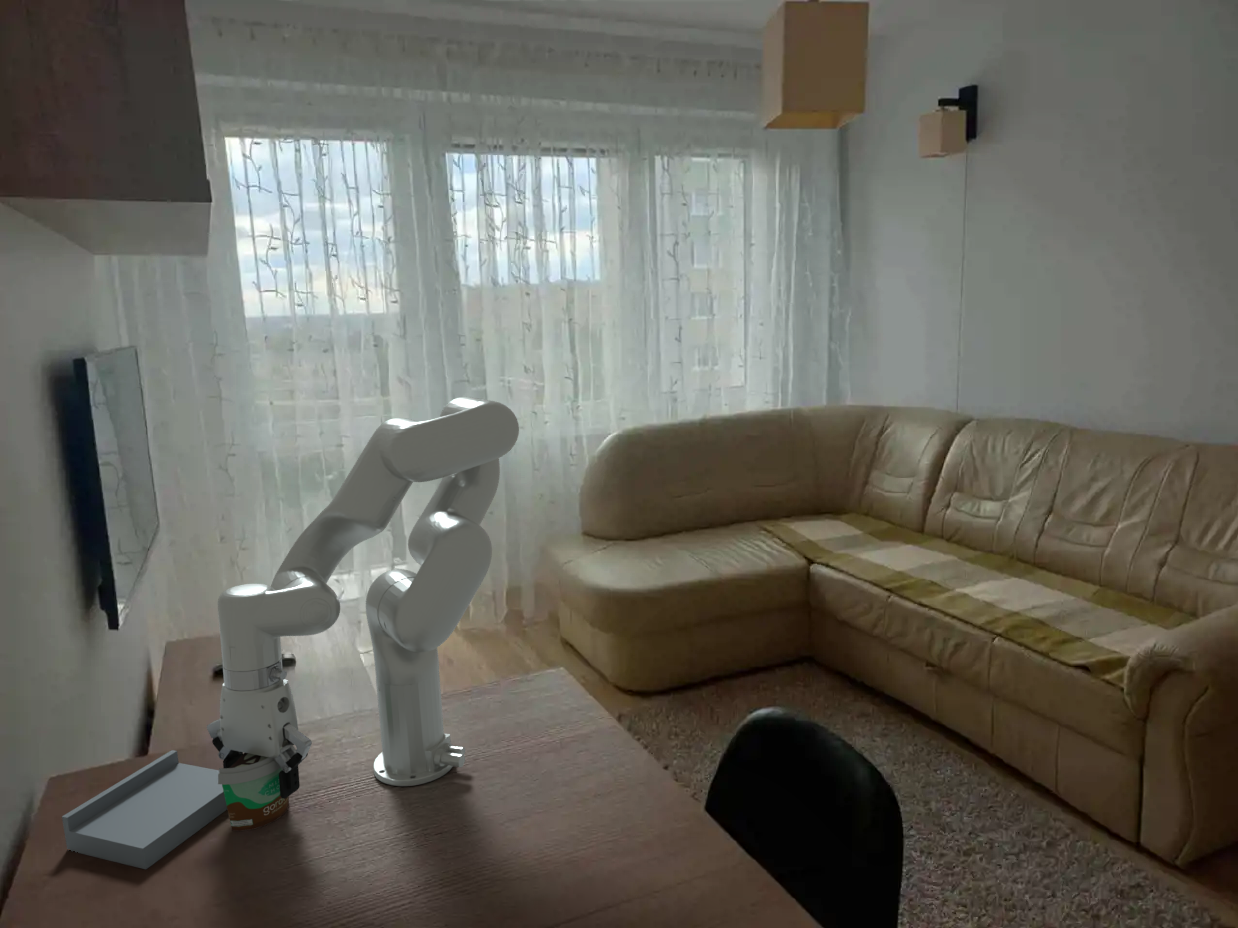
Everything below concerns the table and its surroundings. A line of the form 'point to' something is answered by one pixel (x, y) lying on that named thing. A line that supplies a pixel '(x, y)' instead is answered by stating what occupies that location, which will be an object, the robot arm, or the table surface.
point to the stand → (146, 813)
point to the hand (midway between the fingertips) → (262, 787)
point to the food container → (253, 791)
